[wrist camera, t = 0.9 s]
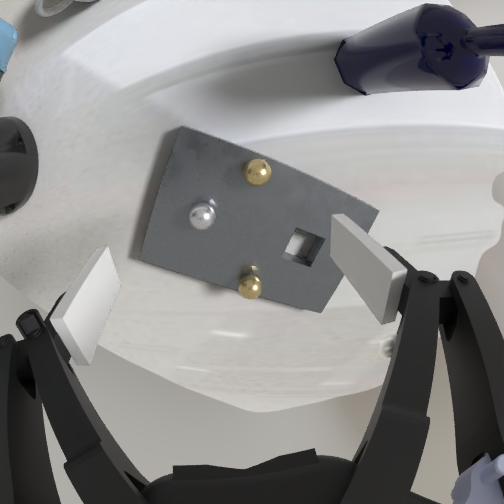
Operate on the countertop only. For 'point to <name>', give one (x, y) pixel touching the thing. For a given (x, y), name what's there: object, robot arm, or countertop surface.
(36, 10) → the mug
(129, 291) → the countertop surface
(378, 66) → the bottle
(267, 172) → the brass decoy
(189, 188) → the plate
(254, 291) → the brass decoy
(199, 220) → the steel ball
